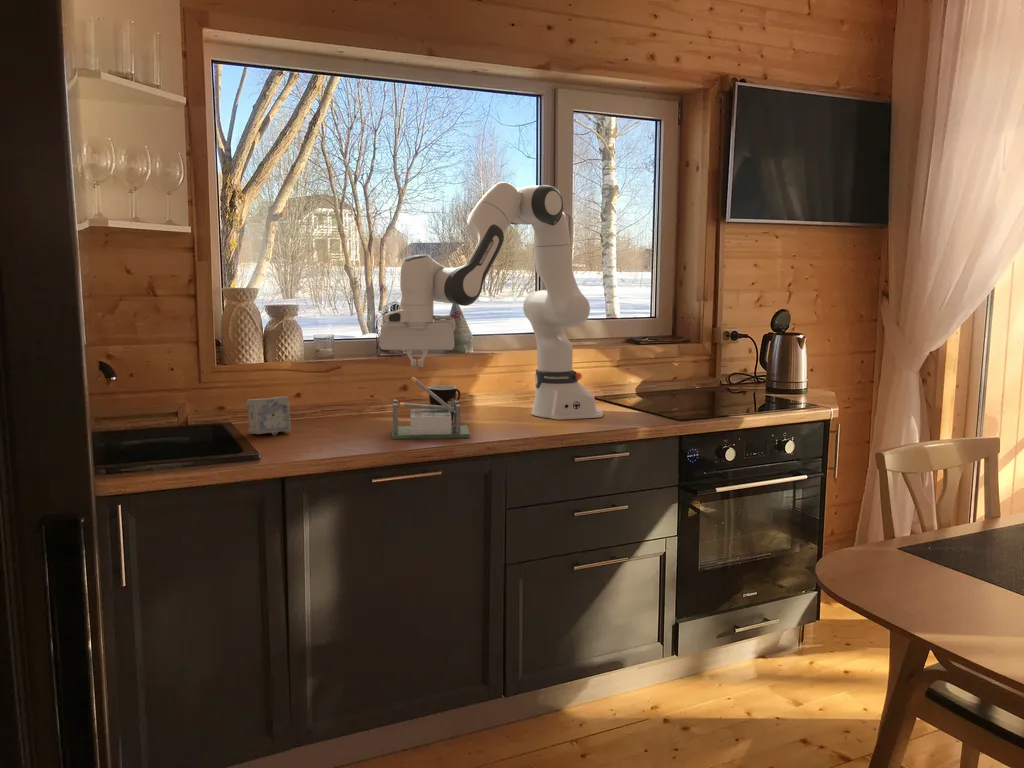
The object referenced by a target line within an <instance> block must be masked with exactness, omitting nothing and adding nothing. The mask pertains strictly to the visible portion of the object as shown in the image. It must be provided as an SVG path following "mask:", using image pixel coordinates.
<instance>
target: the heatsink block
mask: <svg viewBox="0 0 1024 768" xmlns="http://www.w3.org/2000/svg"><path fill="white" fill-rule="evenodd" d="M398 401H399V400H398V399H393V401H392V432H391V433H392V434H391V436H392V437H391V439H392V440H406V439H407V440H409V439H410V440H411V439H416V440H417V439H419V438H420V439H462V438H463V439H464V438H465V439H468V438H471V433H470V431H469V428H468V425H467V424H465V425H464V424H463V425H461V405H460V402H459V400H458V401H456V400H455V401H454V406H452V408H453V413H454V417H453V424H454V425H452V421H451V413H450V411H449V410H437V409H410V425H403V426H399V409H398V408H399V402H398ZM420 439H419V440H420Z"/></svg>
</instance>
